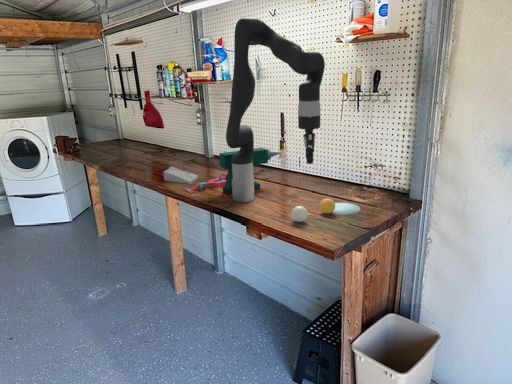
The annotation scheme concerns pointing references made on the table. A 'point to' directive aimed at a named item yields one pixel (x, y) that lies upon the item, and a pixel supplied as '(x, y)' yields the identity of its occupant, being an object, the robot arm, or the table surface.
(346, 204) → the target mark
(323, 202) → the object ball
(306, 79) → the robot arm
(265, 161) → the power tool
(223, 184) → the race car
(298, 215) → the cue ball
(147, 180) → the table surface
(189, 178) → the ramp
